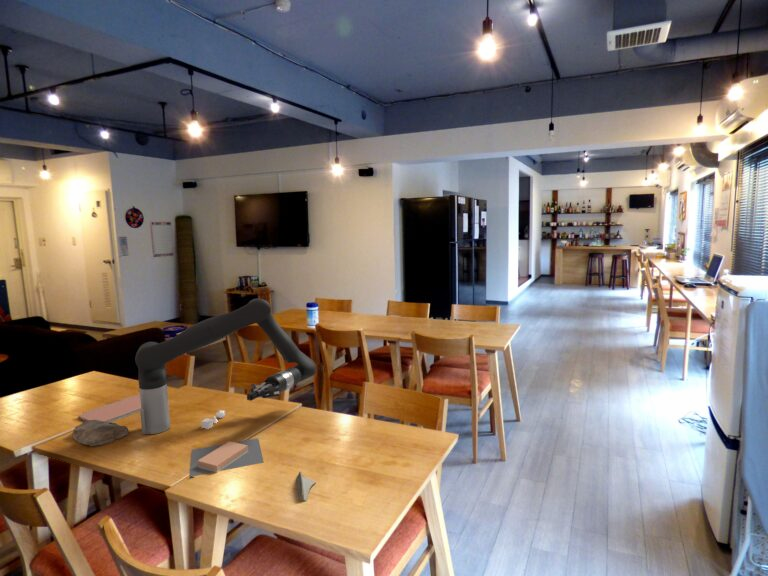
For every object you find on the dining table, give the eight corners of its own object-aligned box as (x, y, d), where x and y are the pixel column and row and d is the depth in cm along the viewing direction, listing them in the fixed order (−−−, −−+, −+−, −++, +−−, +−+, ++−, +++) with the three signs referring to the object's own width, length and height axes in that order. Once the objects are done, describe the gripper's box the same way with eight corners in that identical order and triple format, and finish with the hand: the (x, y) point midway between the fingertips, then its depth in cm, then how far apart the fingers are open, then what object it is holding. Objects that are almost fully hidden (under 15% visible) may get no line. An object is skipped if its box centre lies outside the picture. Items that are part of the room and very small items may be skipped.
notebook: (141, 396, 207) (141, 392, 207) (163, 403, 199) (163, 399, 198) (76, 419, 184) (75, 414, 184) (98, 428, 176) (97, 423, 175)
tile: (248, 451, 153) (217, 472, 140) (229, 447, 156) (197, 467, 144) (247, 445, 153) (216, 465, 140) (229, 441, 156) (197, 460, 143)
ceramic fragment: (297, 476, 139) (296, 464, 139) (314, 474, 140) (313, 462, 140) (299, 504, 126) (298, 491, 125) (317, 501, 127) (317, 489, 126)
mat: (189, 478, 138) (189, 476, 138) (191, 451, 155) (191, 449, 155) (263, 464, 146) (263, 462, 146) (258, 439, 163) (258, 438, 163)
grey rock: (63, 437, 168) (90, 450, 157) (62, 424, 167) (88, 437, 156) (104, 424, 180) (131, 435, 169) (103, 412, 179) (130, 422, 168)
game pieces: (208, 430, 172) (208, 422, 171) (201, 429, 173) (200, 421, 172) (227, 416, 183) (226, 409, 183) (220, 416, 184) (219, 408, 184)
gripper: (265, 370, 176) (233, 384, 161) (293, 375, 171) (263, 390, 155) (265, 389, 177) (234, 404, 162) (294, 394, 172) (264, 411, 156)
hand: (248, 397), depth 158 cm, fingers closed
